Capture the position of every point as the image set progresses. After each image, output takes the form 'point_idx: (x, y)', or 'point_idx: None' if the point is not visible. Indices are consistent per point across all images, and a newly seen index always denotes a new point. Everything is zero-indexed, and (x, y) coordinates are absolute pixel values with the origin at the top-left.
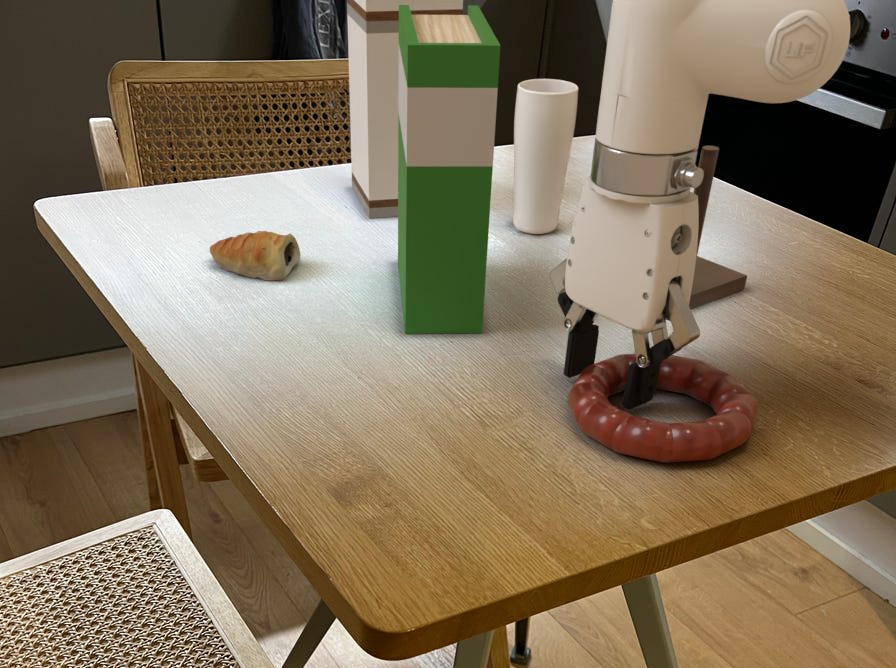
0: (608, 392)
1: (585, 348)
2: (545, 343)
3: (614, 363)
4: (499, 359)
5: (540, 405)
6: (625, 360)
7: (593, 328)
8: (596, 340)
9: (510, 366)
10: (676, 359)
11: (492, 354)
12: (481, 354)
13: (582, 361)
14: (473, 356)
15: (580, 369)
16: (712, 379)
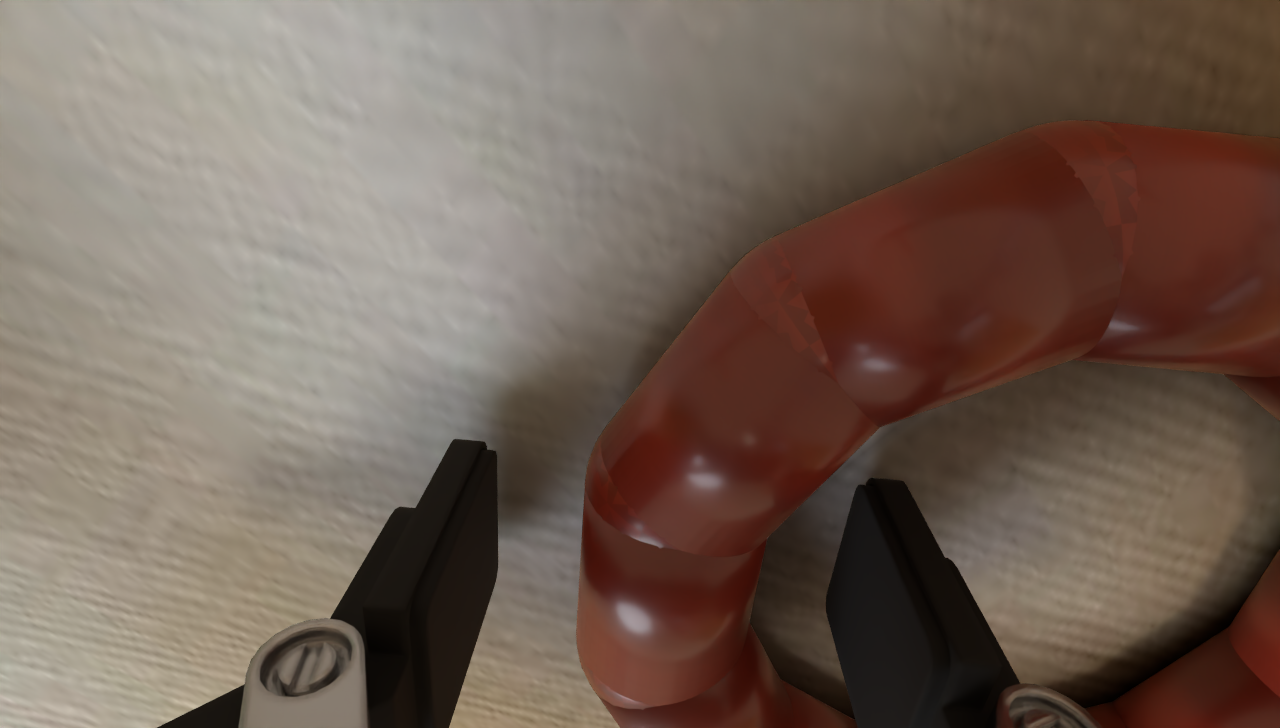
0: (768, 669)
1: (460, 607)
2: (85, 331)
3: (693, 632)
4: (159, 581)
5: (561, 711)
6: (713, 570)
7: (407, 646)
8: (450, 561)
9: (238, 593)
10: (964, 357)
11: (103, 571)
12: (85, 597)
13: (480, 561)
14: (91, 626)
15: (492, 539)
16: (1276, 366)
